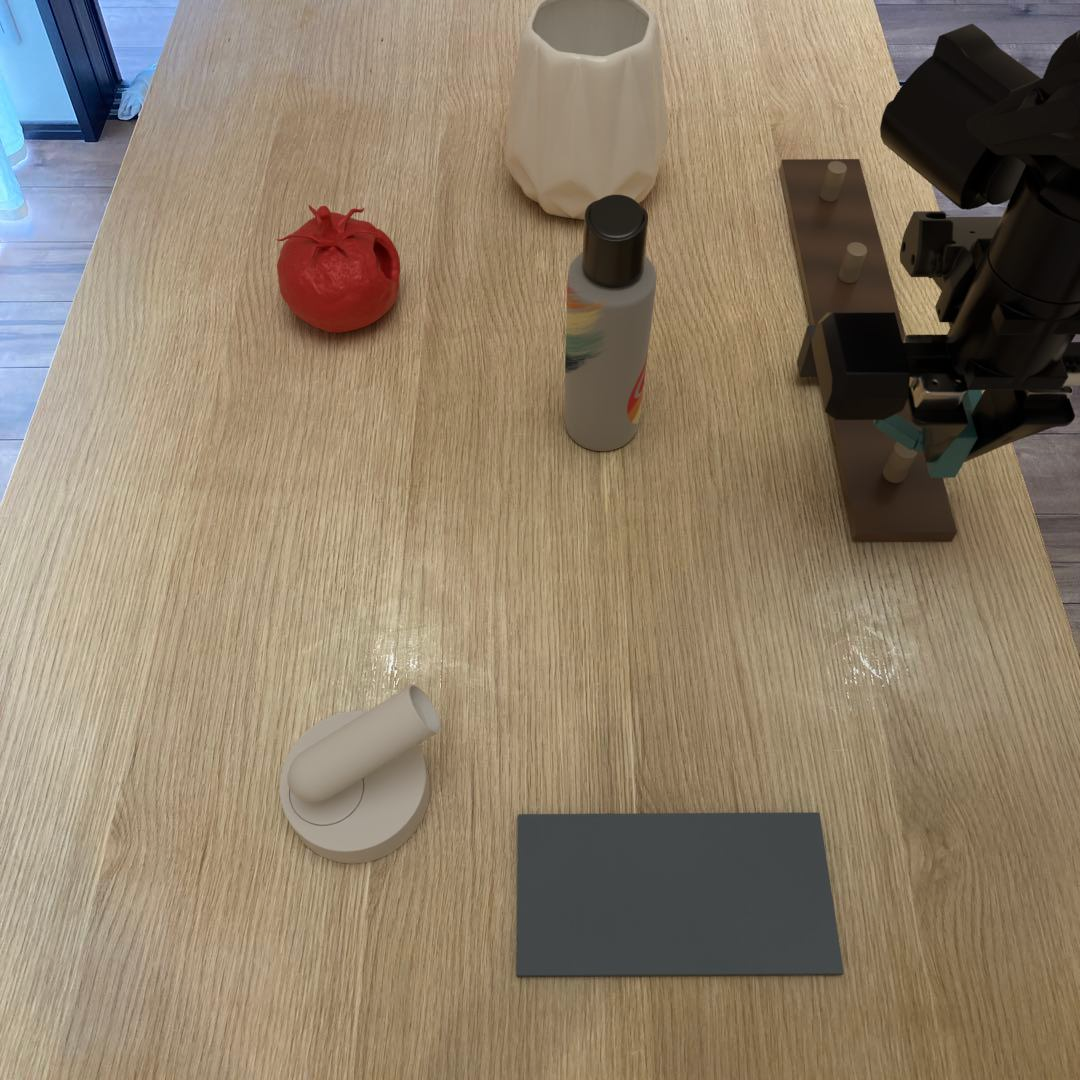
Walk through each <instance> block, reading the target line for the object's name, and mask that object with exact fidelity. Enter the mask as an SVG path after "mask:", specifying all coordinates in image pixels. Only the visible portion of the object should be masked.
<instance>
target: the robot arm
mask: <svg viewBox="0 0 1080 1080" xmlns="http://www.w3.org/2000/svg"><path fill="white" fill-rule="evenodd" d="M879 132H880V133H879V135H880V138H881V141H882V143H883V145H884V146H886V147H887V148H888V149H889V150H890V151H892V152H893V153H894V154H895V155H896V156H897V157H899V158H900V159H901V160H902V161H903V162H904V163H906V164H907V165H908V166H909V167H910V168H912V170H914V171H915V172H916V173H917V174H919V175H920V176H921V177H922V178H923V179H925V180H926V181H927V182H928V183H929V184H930V185H931V186H933V187H934V188H935V189H936V190H937V191H938V192H940V193H941V194H942V195H943V196H944V197H946V198H947V199H948V200H949V201H951V202H952V203H953V204H954V205H955V206H956V207H958V208H959V209H960V210H966V211H967V210H968V211H969V210H974V209H978V208H981V207H982V206H984V205H985V206H986V205H987V204H990V205H992V206H997V205H998V206H999V205H1001V204H1004V203H1006V202H1007V205H1006V207H1005V209H1004V211H1003V213H1002V215H1001V216H947V213H946V212H945V211H942V210H933V211H932V210H923V211H921V210H920V211H918V210H916V211H915V210H914V211H913V212H912V214H911V216H910V219H909V221H908V223H907V226H906V228H905V230H904V232H903V234H902V235H903V236H902V241H901V245H900V249H899V262H900V264H901V265H902V266H903V268H904V270H905V271H906V272H907V274H908V275H909V276H910V278H928V279H932V281H934V283H935V284H936V285H937V287H938V289H940V291H941V292H940V294H939V297H938V299H937V301H936V304H935V306H934V308H935V311H936V315H937V318H938V322H939V323H948V326H949V330H948V331H947V334H905V335H906V336H905V338H904V340H903V342H902V339H901V335H900V331H899V327H898V323H897V319H896V315H895V312H839V313H826V314H825V315H824V317H823V318H822V319H821V320H820V321H819V322H818V323H817V327H816V330H815V333H814V336H813V339H812V349H813V354H814V359H815V364H816V369H817V375H818V377H817V379H818V386H819V390H820V396H821V401H822V406H823V411H824V413H825V414H827V416H828V415H830V416H831V417H833V418H834V419H836V420H885V419H887V418H889V417H891V416H893V415H895V414H897V413H899V412H901V411H903V409H904V407H905V404H907V408H908V412H909V416H910V419H911V421H912V422H913V423H914V424H915V425H917V426H919V427H922V434H923V452H924V456H925V460H926V462H934V461H935V460H936V459H938V458H939V457H940V456H941V455H942V454H943V453H944V452H945V451H946V449H947V448H948V447H949V446H950V445H951V443H952V442H953V441H954V440H955V439H956V437H957V436H958V435H959V434H960V433H961V432H962V430H963V429H964V428H965V427H966V426H967V424H968V420H967V416H966V413H965V409H964V406H963V402H962V399H963V397H964V396H965V395H966V394H967V393H968V391H969V390H982V396H981V398H980V399H979V401H978V403H977V405H976V406H975V408H974V410H973V412H972V414H971V416H972V419H973V422H974V426H975V429H976V433H977V436H978V439H977V440H976V442H975V444H974V446H973V447H972V449H971V451H970V453H969V454H968V456H967V458H966V460H965V461H964V463H967V462H969V461H971V460H974V459H976V458H978V457H981V456H983V455H985V454H987V453H990V452H993V451H994V450H997V449H1000V448H1002V447H1004V446H1006V445H1009V444H1011V443H1014V442H1017V441H1020V440H1022V439H1025V438H1027V437H1030V436H1033V435H1036V434H1039V433H1041V432H1045V431H1047V430H1050V429H1053V428H1058V427H1059V428H1060V427H1061V428H1062V427H1067V426H1069V425H1071V424H1072V423H1073V422H1074V420H1075V419H1076V412H1075V410H1074V407H1073V405H1072V402H1071V400H1070V396H1071V395H1072V394H1073V388H1072V387H1080V341H1074V339H1075V337H1076V335H1080V29H1079V30H1077V31H1075V32H1074V33H1073V34H1071V35H1070V36H1068V37H1066V38H1065V39H1064V40H1063V41H1062V42H1061V43H1060V45H1059V46H1058V47H1057V49H1055V51H1054V52H1053V54H1052V55H1051V56H1050V59H1049V61H1048V64H1047V67H1046V69H1045V71H1044V74H1043V76H1042V77H1040V76H1039V75H1038V74H1036V73H1035V72H1033V71H1032V70H1030V69H1029V68H1027V67H1026V66H1025V65H1024V64H1023V63H1021V62H1019V61H1018V60H1016V59H1015V58H1014V57H1012V56H1011V55H1010V54H1008V53H1007V52H1005V50H1003V49H1001V48H1000V47H999V46H998V45H997V44H996V43H995V41H994V40H993V39H992V37H991V36H990V35H988V34H987V33H986V32H985V31H983V30H982V29H981V28H979V27H978V26H977V25H975V24H974V23H969V24H966V25H964V26H961V27H958V28H956V29H953V30H951V31H948V32H945V33H942V34H941V35H938V37H937V40H936V43H935V46H934V49H933V52H932V55H931V56H930V57H928V58H927V59H926V60H924V62H922V63H921V64H919V66H918V67H917V68H916V69H915V70H914V71H913V72H912V73H911V75H909V76H908V78H906V80H905V81H904V83H903V84H902V85H901V87H900V88H899V90H898V91H897V92H896V94H895V96H894V97H893V99H892V100H890V101H889V102H888V103H887V104H886V106H885V108H884V111H883V114H882V117H881V121H880V128H879Z"/></svg>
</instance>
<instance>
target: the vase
mask: <svg viewBox="0 0 1080 1080" xmlns="http://www.w3.org/2000/svg"><path fill="white" fill-rule="evenodd" d="M662 55H663V54H662V42H661V31H660V25H659V21H658V18H657V16H656V15H655V14H654V12H653V11H652V9H650V8H649V7H648V6H647V5H645V4H644V3H642V2H641V1H640V0H539V1H537V2H536V3H535V4H534V5H533V6H532V7H531V8H530V10H529V12H528V15H527V19H525V22H524V26H523V28H522V31H521V34H520V39H519V44H518V51H517V57H516V63H515V67H514V72H513V76H512V82H511V86H510V91H509V92H510V93H509V96H508V97H509V98H508V103H507V107H506V116H505V160H504V161H505V165H506V168H507V170H508V172H509V173H510V174H511V176H512V178H513V179H514V181H515V182H516V183H517V185H518V186H519V187H520V188H521V190H522V192H523V194H524V195H525V196H526V197H527V198H529V199H530V200H532V201H534V202H536V203H538V204H539V206H540V207H541V209H542V210H543V211H544V212H545V213H546V214H548V215H550V216H555V217H560V218H561V217H562V218H566V219H574V220H575V219H577V220H581V221H584V219H585V211H586V209H587V207H588V206H589V205H590V204H591V203H592V202H594V201H597V200H600V199H601V198H603V197H606V196H609V195H624V196H628V197H630V198H632V199H634V200H635V201H636V202H637V203H638V204H639V203H642V202H643V201H644V200H645V199H646V198H647V196H648V195H649V194H650V193H651V190H652V189H653V188H654V186H655V184H656V181H657V176H658V173H659V169H660V166H661V162H662V160H663V155H664V153H665V150H666V146H667V144H668V141H669V136H670V135H669V134H670V133H669V121H668V111H667V102H666V96H665V83H664V68H663V56H662Z"/></svg>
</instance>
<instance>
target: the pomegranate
mask: <svg viewBox="0 0 1080 1080" xmlns="http://www.w3.org/2000/svg"><path fill="white" fill-rule="evenodd" d="M308 209H309V211H310V213H312V215H313V216H314V217H312V218H310V219H309V220H307V221H306V222H305V223H304V224H303V225H301V226H300V227H299V228H297V229H296V230H295V231H294V232H293V233H290V234H288V235H286V236H285V237H282V238H275V241H277V242H284V243H283V245H282V246H281V248H280V252H279V257H278V259H277V262H276V270H277V277H278V278H277V279H278V280H277V281H278V287H279V292H280V295H281V298H282V299H283V301H284V303H285V304H286V305H287V306H288V307H289V309H290V311H292V313H293V314H294V315H295V316H297V317H298V318H299V319H301V320H303V321H304V322H306V323H308V324H309V325H311V326H312V327H313V328H317V329H320V330H323V331H325V332H327V333H336V334H338V333H346V332H350V331H355V330H359V329H362V328H366V327H367V326H369V325H371V324H373V323H375V322H376V321H377V320H379V319H380V318H382V317H383V316H384V315H385V314H386V313H387V312H389V311H390V310H391V308H392V306H393V305H394V304H395V303H396V301H397V299H398V295H399V292H400V275H401V262H400V260H401V259H400V255H399V252H398V250H397V248H396V245H395V244H394V242H393V240H392V239H391V238H390V237H389V236H388V235H387V233H385V231H383V230H382V229H380V228H376V226H375V225H374V224H372V223H371V222H370V221H366V220H360V219H356V218H353V217H352V216H353V215H354V214H355V213H358V214H359V213H361V214H362V213H363V212H364V211H365V207H364V206H363V207H362V208H361V209H360V208H356V207H355V208H351V209H350V210H349V211H348V213H347V214H346V215H344V214H342V213H339V212H335V211H334V212H333V211H331V210H330V209H329V207H328V206H326V205H321V206H319V207H318V208H317V209H315V208H314V207H312V206H311V204H308Z"/></svg>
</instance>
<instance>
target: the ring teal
mask: <svg viewBox="0 0 1080 1080" xmlns="http://www.w3.org/2000/svg"><path fill="white" fill-rule="evenodd" d="M982 394H983V390H969V391H968V393H967V394H966V395H965V396H964V397H963V399H962V402H963V406H964V409H965V413H966V416H967V420H968V424H967V426H966V427H965V428H964V429H963V430H962V432H961V433H960V434H959V435H958V436H957V437H956V439H955V440H954V441H953V442H952V443H951V445H950V446H949V447H948V448H947V449H946V451H945V452H944V453H943V454H942V455H941V456H940V457H939V458H938V459H936V460H935V461H934V462H926V464H927V468H928V472H929V476H930V478H943V479H944V478H946V479H947V478H948V479H949V478H950V479H951V478H953V479H954V478H956V477H957V476H958V474H959V472H960V470H961V469H962V467H963V465H964V463H965V462H964V461H965V460H966V458H967V456H968V454H969V453H970V451H971V449H972V447H973V446H974V444H975V442H976V440H977V439H978V436H977V433H976V429H975V426H974V422H973V419H972V416H971V414H972V412H973V410H974V408H975V406H976V405H977V403H978V401H979V399H980V398H981V396H982ZM873 422H874V425H877V426H876V428H878V429H879V430H881V431H882V432H884V433H885V434H887V435H888V436H890V437H891V438H893V439H894V440H896V441H897V442H899V443H900V444H902V445H903V446H905V447H906V448H908V449H909V450H911V451H912V450H913V449H914V451H915V452H923V434H922V430H920V429H918V428H917V427H915V426H914V425H912V424H910V423H909V422H907V421H906V420H904V419H903V418H901V417H900V416H898V415H897V414H895V415H893V416H891V417H889V418H887V419H885V420H873Z"/></svg>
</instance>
